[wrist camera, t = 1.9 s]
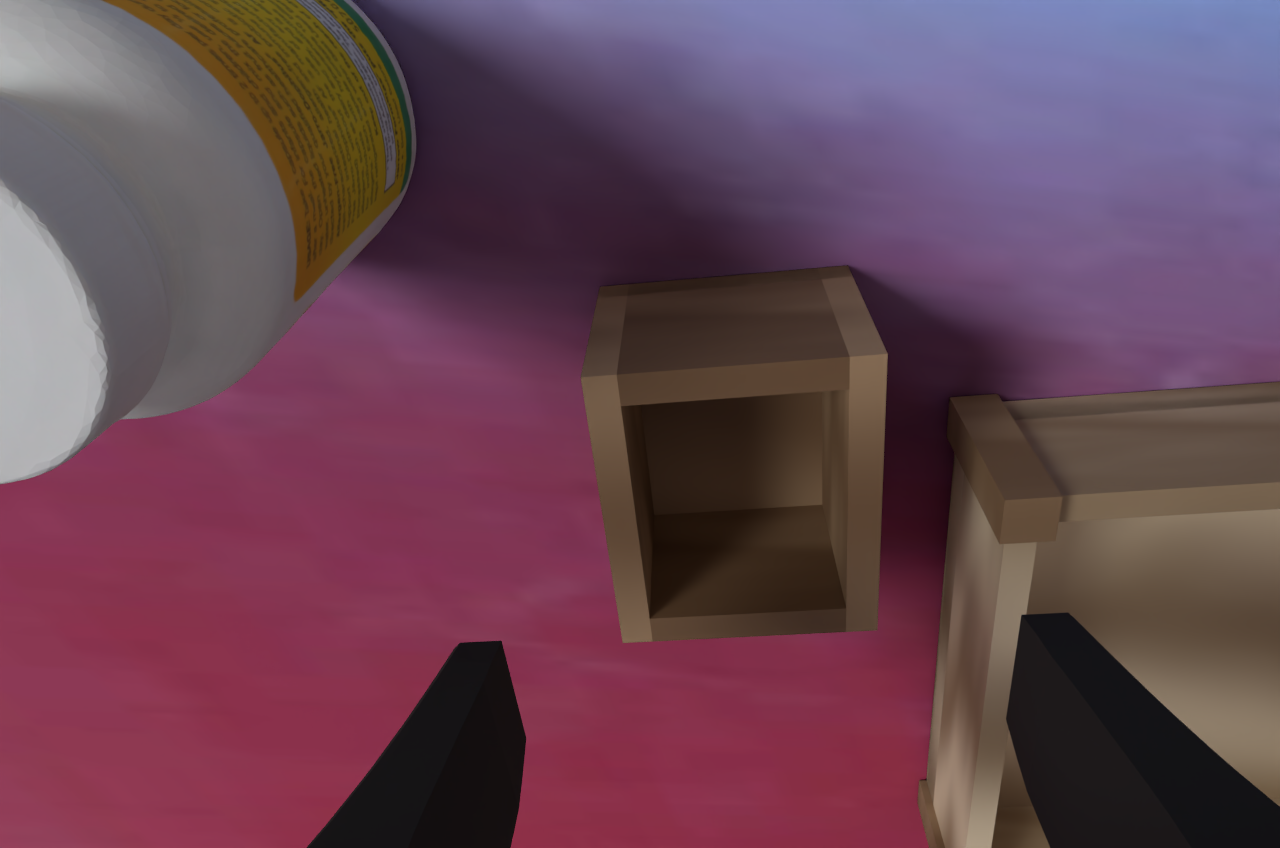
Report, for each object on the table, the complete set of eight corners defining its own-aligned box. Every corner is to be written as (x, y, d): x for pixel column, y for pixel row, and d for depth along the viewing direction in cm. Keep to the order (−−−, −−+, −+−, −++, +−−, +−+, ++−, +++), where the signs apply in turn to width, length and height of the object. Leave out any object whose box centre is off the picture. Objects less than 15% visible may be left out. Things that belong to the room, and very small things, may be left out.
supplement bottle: (345, 299, 19) (76, 620, 10) (96, 140, 17) (-451, 369, 9) (477, 80, 16) (267, 270, 8) (202, -125, 15) (-405, -151, 6)
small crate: (844, 508, 21) (877, 630, 17) (632, 521, 21) (622, 642, 18) (847, 265, 18) (887, 353, 14) (599, 286, 18) (580, 377, 15)
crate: (1377, 788, 25) (1482, 922, 22) (917, 802, 26) (951, 933, 23) (1586, 351, 18) (1786, 451, 15) (949, 397, 19) (1004, 500, 16)
